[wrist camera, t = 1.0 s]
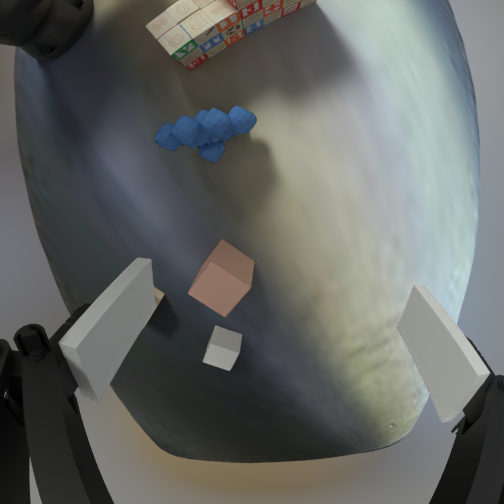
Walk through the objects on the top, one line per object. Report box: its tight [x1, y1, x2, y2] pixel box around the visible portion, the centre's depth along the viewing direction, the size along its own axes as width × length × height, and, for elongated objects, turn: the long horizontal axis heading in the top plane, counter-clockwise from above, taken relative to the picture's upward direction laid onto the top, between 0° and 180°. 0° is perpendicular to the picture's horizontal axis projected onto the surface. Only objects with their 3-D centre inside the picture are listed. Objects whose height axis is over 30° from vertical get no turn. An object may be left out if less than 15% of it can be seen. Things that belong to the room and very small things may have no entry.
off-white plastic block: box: [203, 326, 242, 371], centre depth 47 cm, size 5×5×5 cm
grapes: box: [155, 106, 257, 163], centre depth 30 cm, size 12×7×12 cm, turn 102°
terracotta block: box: [188, 239, 255, 317], centre depth 40 cm, size 6×6×8 cm
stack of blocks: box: [145, 0, 316, 71], centre depth 23 cm, size 21×6×12 cm, turn 124°
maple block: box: [143, 287, 164, 328], centre depth 44 cm, size 5×5×5 cm
